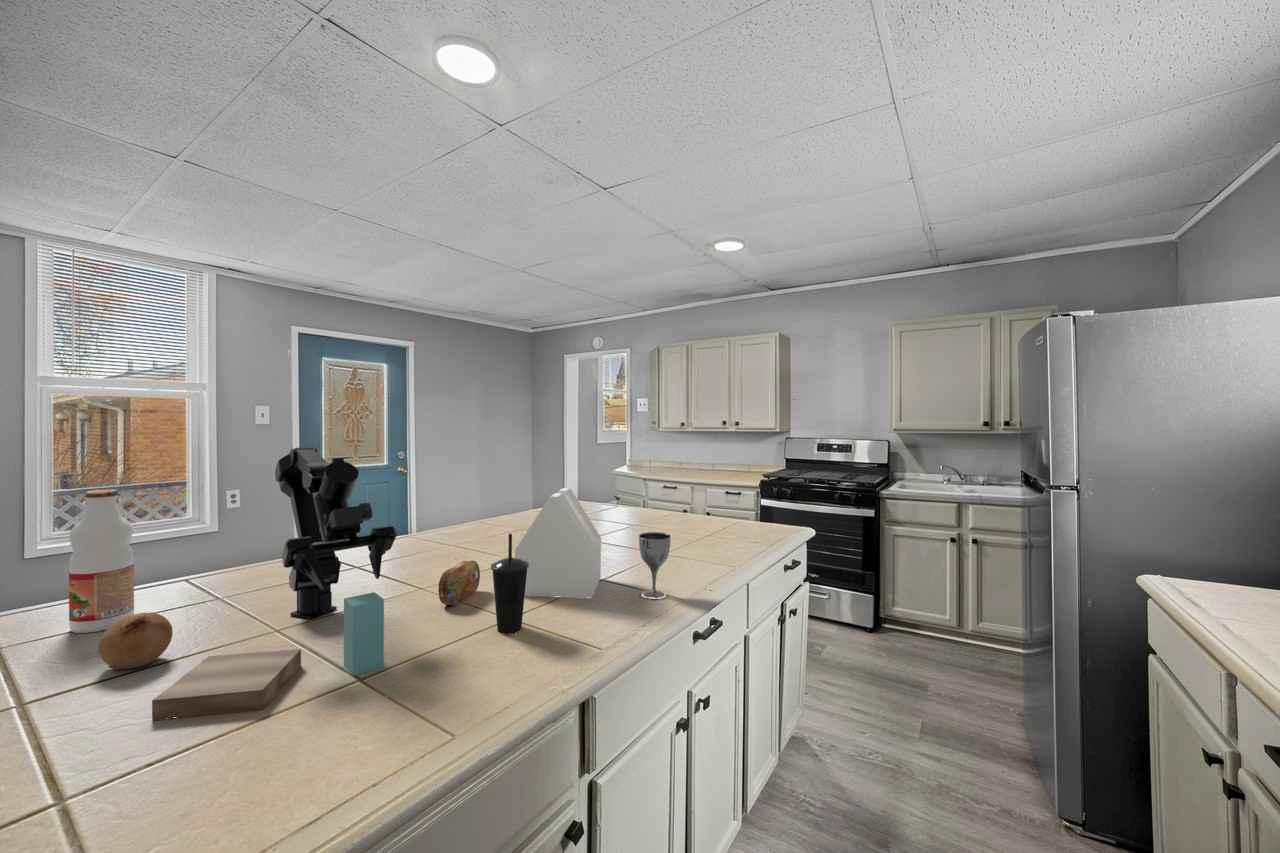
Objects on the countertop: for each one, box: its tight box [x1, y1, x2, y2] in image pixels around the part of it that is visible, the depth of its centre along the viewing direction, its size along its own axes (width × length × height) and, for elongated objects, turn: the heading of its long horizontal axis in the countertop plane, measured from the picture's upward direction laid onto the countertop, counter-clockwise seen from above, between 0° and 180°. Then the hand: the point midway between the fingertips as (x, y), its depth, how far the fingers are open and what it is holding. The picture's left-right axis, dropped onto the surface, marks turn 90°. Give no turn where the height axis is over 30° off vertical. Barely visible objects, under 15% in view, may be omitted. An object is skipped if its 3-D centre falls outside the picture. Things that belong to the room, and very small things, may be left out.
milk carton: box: [514, 487, 602, 598], centre depth 135 cm, size 19×15×25 cm
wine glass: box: [638, 531, 672, 598], centre depth 130 cm, size 8×8×15 cm
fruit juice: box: [68, 489, 135, 634], centre depth 108 cm, size 9×9×28 cm
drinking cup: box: [490, 533, 529, 635], centre depth 108 cm, size 8×8×20 cm
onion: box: [97, 611, 174, 670], centre depth 91 cm, size 10×9×10 cm
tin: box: [438, 560, 481, 607], centre depth 126 cm, size 15×3×8 cm, turn 168°
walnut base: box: [151, 648, 302, 721], centre depth 83 cm, size 14×14×3 cm
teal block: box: [343, 591, 385, 677], centre depth 92 cm, size 5×5×12 cm
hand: (351, 583), depth 96 cm, fingers open, 9 cm apart
